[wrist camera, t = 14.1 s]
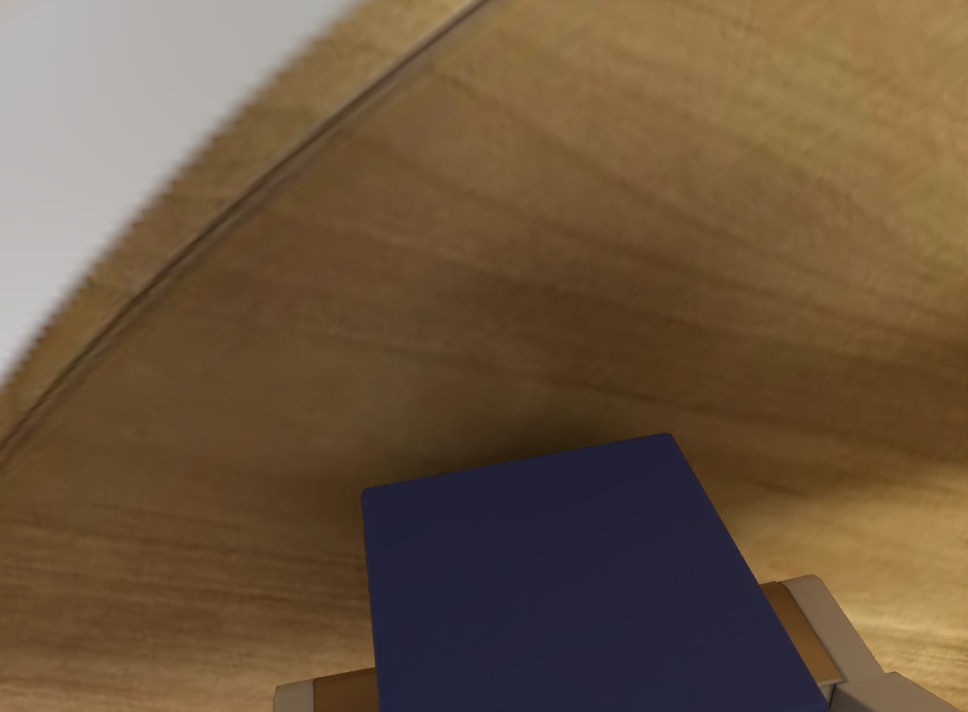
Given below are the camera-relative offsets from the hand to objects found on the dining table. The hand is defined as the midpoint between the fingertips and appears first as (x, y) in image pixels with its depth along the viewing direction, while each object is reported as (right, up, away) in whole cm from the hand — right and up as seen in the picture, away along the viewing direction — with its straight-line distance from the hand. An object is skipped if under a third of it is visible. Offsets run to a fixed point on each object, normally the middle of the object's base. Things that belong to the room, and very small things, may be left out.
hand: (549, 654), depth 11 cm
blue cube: (0, +1, +1) cm, 2 cm away
